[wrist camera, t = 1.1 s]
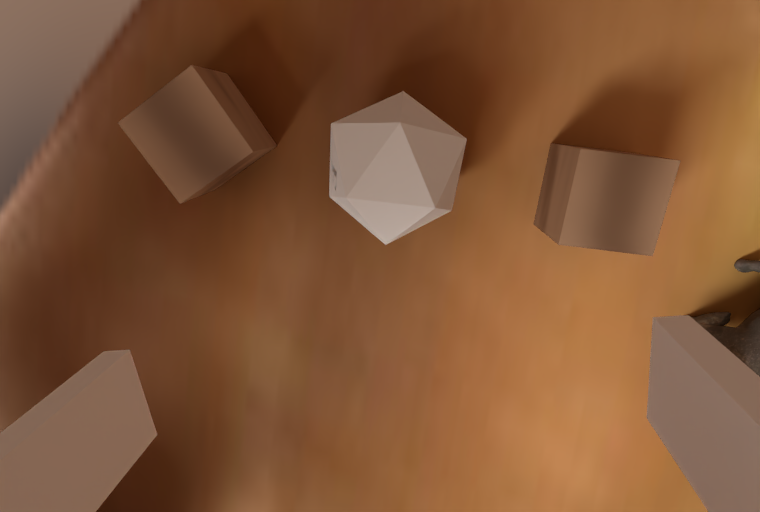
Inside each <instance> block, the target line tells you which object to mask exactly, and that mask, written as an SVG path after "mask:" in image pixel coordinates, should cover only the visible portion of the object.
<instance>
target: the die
mask: <svg viewBox="0 0 760 512" xmlns="http://www.w3.org/2000/svg"><path fill="white" fill-rule="evenodd" d="M466 141H467V139H466V138H465V137H464V136H462V135H461V134H460V133H458V132H457V131H456V130H454V129H453V128H452V127H450V126H449V125H448V124H447V123H445V122H444V121H443V120H441V119H440V118H439V117H437V116H436V115H435V114H433V113H432V112H431V111H429V110H428V109H427V108H425V107H424V106H423V105H421V104H420V103H419V102H417V101H416V100H415V99H413V98H412V97H411V96H409V95H408V94H407V93H405V92H404V91H402V92H400V93H398V94H396V95H394V96H391V97H389V98H387V99H385V100H382V101H380V102H378V103H376V104H373V105H371V106H369V107H367V108H364V109H362V110H360V111H358V112H356V113H353V114H351V115H349V116H347V117H344V118H342V119H340V120H338V121H335V122H333V123H331V139H330V180H329V197H330V198H331V199H333V200H334V201H335V202H336V203H337V204H338V205H340V206H341V207H342V208H343V209H344V210H345V211H347V212H348V213H349V214H350V215H351V216H352V217H354V218H355V219H356V220H357V221H358V222H359V223H361V224H362V225H363V226H364V227H365V228H366V229H368V230H369V231H370V232H371V233H372V234H374V235H375V236H376V237H377V238H378V239H379V240H381V241H382V242H383V243H384V244H385V245H386V244H388V243H390V242H392V241H394V240H396V239H398V238H400V237H402V236H404V235H406V234H408V233H410V232H412V231H413V230H415V229H417V228H419V227H421V226H423V225H425V224H427V223H429V222H431V221H433V220H435V219H437V218H439V217H440V216H442V215H444V214H446V213H448V212H450V211H452V208H453V203H454V198H455V193H456V189H457V184H458V179H459V174H460V170H461V165H462V160H463V156H464V151H465V146H466Z"/></svg>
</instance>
